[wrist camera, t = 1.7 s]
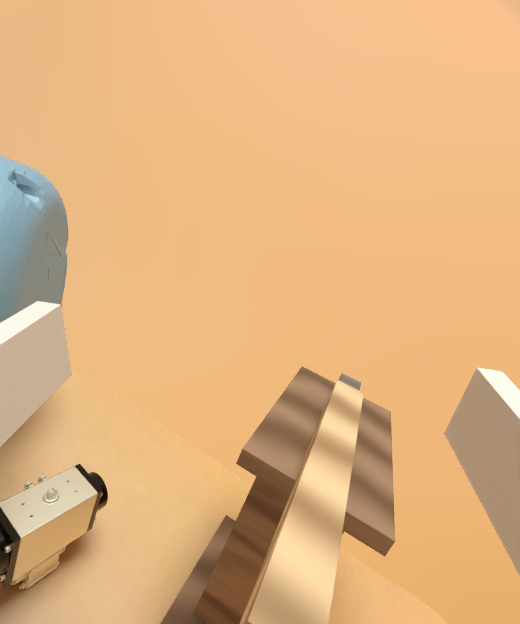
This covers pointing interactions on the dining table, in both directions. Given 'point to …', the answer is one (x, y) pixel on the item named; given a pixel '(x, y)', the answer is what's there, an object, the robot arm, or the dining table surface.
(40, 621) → the dining table surface
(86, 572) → the dining table surface
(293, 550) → the brown streaked block
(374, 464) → the shelf stand
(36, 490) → the pneumatic valve
